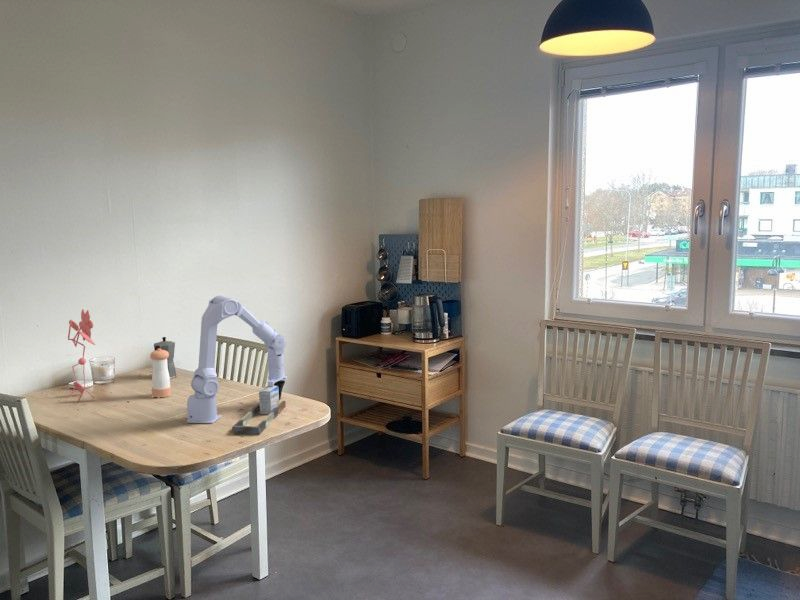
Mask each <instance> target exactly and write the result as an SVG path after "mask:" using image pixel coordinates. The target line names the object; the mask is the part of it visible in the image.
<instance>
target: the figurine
mask: <svg viewBox="0 0 800 600" xmlns="http://www.w3.org/2000/svg"><path fill="white" fill-rule="evenodd" d="M90 318H91V314H90V310H88V309H87V310H86V311H85V310H84V309H81V312H80V319H81V321H79V322H78V323H77V322H75V321H74V320H72V319H69V320H68V323H69V328H68V335H67V340H68V341H72V342H73V344H74V346H75V348H77V345H78V344H79V345H81V346H83V350H82V357H80V358H79V359H78V361H77V362H78V363H76V364H74V365H72V370H73V371H72V372H73V375H74V379H75V381H74V382H73V390H72V391H71V394H70V396H73V394H74V392H75V390H76V391H78V392H79V393H80V394H79V396H78V397H79V398H78V399H77V401H79V402H80V400H81V399H82V396H83V394H84V391H85V392H87V393H88V395H89V396H91V398H93V399H94V400H95V399H96V398H95V397H94V396H93V395H92V394H91V392H89V391H88V390H87V389H86V388H87V386H86V375H85V366H86V365H85V364H86V362H87V360H86V359H85V357H84V356H85V352H86V351H85V349H86V346H85V344H84V343H82V342H79V338H80V335H81V337H82V341H83V342H84V341H85V340H86V341H87V342H88V343H90V344H92V345H94V346H96V343H95V342H94V341H93V339H92V338H91V336H92V330H91V329H92V328H94V323H93V321H92V320H90ZM72 329H73V330H75V331H76V333H75V335H74V337H73V338H70V335H71V330H72ZM78 365H81V366H82V365H83V366H82V367H83V369H82V370H83V371H82V373H83V383H84V384H83V385H84V386H83V385H81V384H80V383H79V382H78V379H77V376H76V372H75V369H74V367H76V366H78Z"/></svg>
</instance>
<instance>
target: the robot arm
mask: <svg viewBox="0 0 800 600" xmlns="http://www.w3.org/2000/svg"><path fill="white" fill-rule="evenodd" d="M232 316H237V317H238V318H239V319H241V320H242V321H243V322H244V323H246V324H247V325H248V326H250V327H251V328H252V329H251V330H252V333H253V334H254V335H255V336H256V337H257V338H259V340H261V341H262V342H263V343H264V346H265V347H267V364H268V365H267V366H268V367H267V368H268V376H267V386H268V387H273V386H278V388H279V401H281V399H282V398H281V397H282V392H283V388H284V385H285V383H286V380H287V379H288V376H287V375H285V369H284V367H285V366H284V365H285V363H284V362H285V361H284V350H285V348H286V346H287V341H286V339H285V337H284V335H281V334H278V331H277V330H276V329H273V328H272V327H271V326H270V323H269V322H268V321H264V320H258V319H257V318H256V316H254V315H253V314H252V313H251V312H250V311H249V310H248V309H247V308H245V307H244V305H243V304H242V303H241V302H239V301H237V300H236V299H235V298H234V297H225V296H223V295H216V296H214V297H213V298H211V299H210V300H208V305H207V308H206V309H205V311H204V313H203V314H202V316H201V323H200V338H199V354H198V368H196V369H195V370H194V374H193V377H192V379H191V382H190V386H191V389H192V390H193V391H194V394H191V395H189V396H188V398H187V403H186V407H187V408H186V409H187V412H186V413H187V421H186V423H190V424H195V423H196V424H214V423H215V422H216V421H218V420H219V419H220V418H221V417H222V415H221V414H218V407H217V394H218V392H219V389H220V384H219V381H218V375H217V372H216V369H215V364H216V350H217V349H216V347H217V338H218V337H217V335H218V333H217V332H218V324H219V323H221V322H222V321H223V320H225V319H228V318H230V317H232Z"/></svg>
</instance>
